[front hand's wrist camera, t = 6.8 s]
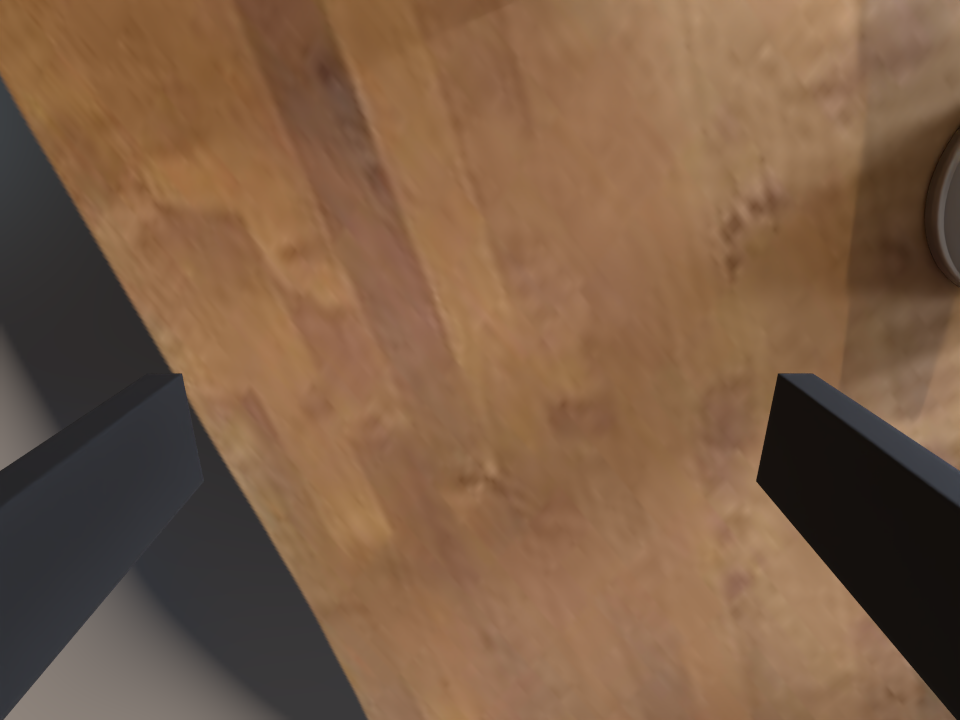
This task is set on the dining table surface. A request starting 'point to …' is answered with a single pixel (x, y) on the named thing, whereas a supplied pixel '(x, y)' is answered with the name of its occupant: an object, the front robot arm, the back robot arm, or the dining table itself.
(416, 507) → the dining table surface
